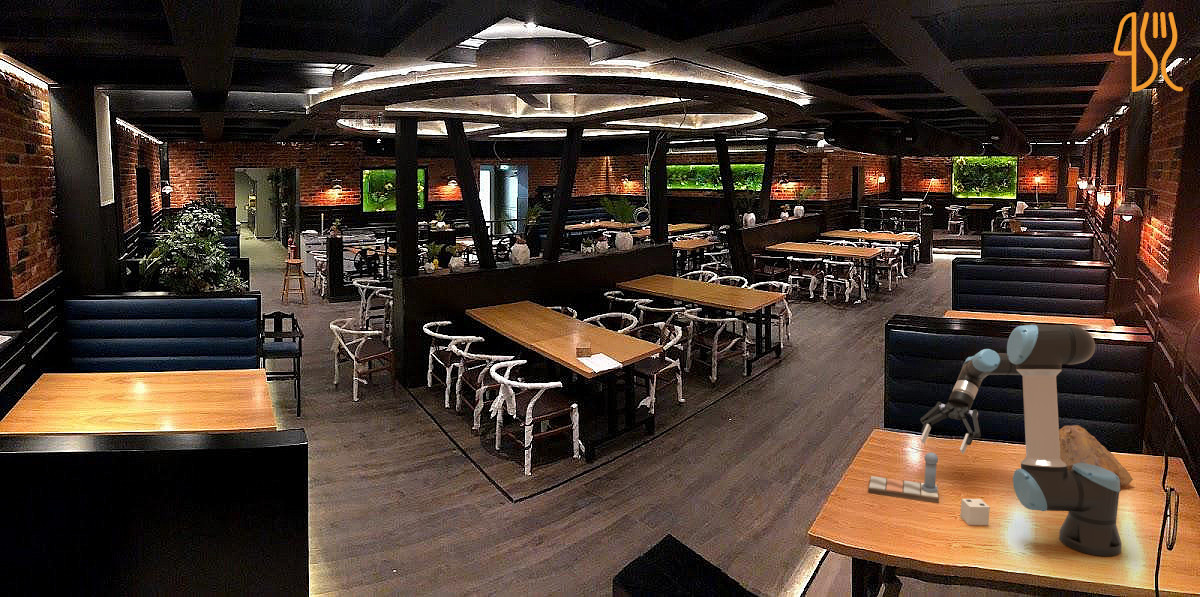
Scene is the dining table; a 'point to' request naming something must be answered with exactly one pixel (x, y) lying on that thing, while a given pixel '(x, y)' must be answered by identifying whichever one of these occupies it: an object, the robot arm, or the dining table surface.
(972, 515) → the die
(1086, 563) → the dining table surface
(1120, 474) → the rock
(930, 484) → the pawn
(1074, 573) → the dining table surface
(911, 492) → the board
